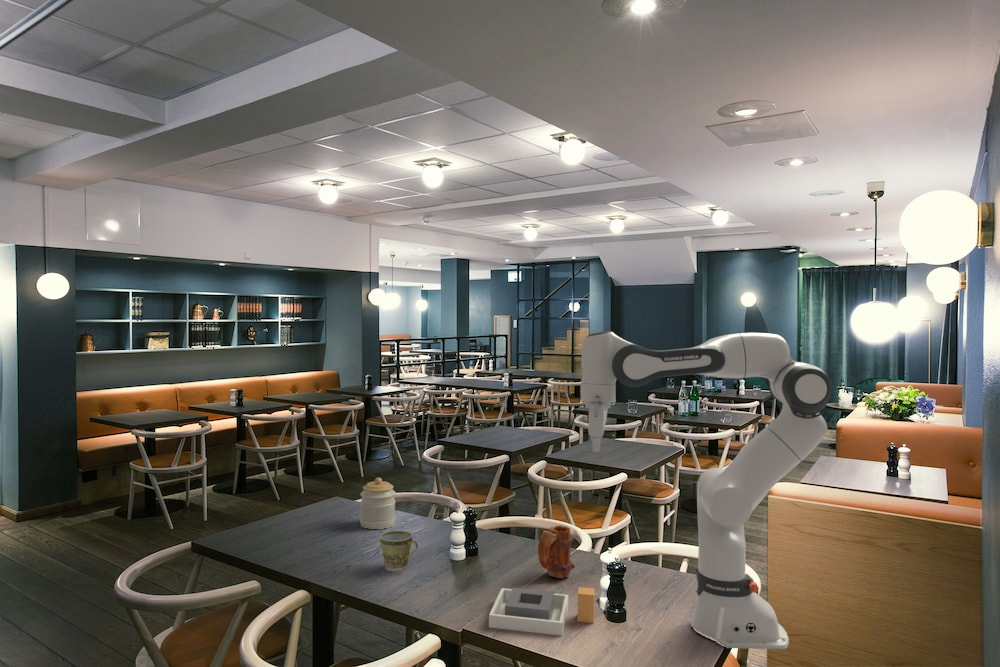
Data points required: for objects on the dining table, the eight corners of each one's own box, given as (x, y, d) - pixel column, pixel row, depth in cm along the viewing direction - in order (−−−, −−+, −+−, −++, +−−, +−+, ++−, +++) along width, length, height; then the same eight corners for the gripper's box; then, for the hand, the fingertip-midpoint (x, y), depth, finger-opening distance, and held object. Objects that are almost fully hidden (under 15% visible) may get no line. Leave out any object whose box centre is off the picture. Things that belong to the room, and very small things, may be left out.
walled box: (568, 609, 163) (568, 594, 163) (562, 639, 148) (562, 623, 148) (501, 602, 167) (501, 588, 167) (488, 631, 151) (489, 614, 151)
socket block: (554, 608, 162) (554, 591, 161) (549, 628, 151) (549, 610, 151) (512, 604, 164) (512, 587, 164) (504, 623, 153) (505, 605, 153)
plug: (594, 619, 158) (594, 588, 158) (593, 627, 154) (593, 595, 154) (578, 618, 159) (579, 587, 159) (577, 625, 155) (577, 593, 155)
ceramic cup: (372, 570, 188) (372, 537, 188) (392, 559, 197) (393, 528, 197) (407, 578, 182) (407, 544, 182) (426, 567, 191) (427, 535, 191)
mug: (556, 567, 192) (557, 519, 192) (578, 574, 187) (579, 525, 187) (528, 581, 181) (529, 530, 181) (551, 589, 176) (552, 537, 176)
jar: (384, 517, 240) (385, 472, 240) (401, 525, 230) (402, 478, 230) (353, 523, 232) (354, 476, 232) (370, 532, 222) (370, 483, 222)
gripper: (609, 399, 148) (608, 456, 148) (611, 390, 168) (610, 441, 168) (583, 398, 149) (582, 455, 150) (588, 390, 169) (587, 440, 170)
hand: (597, 447), depth 159 cm, fingers open, 8 cm apart
